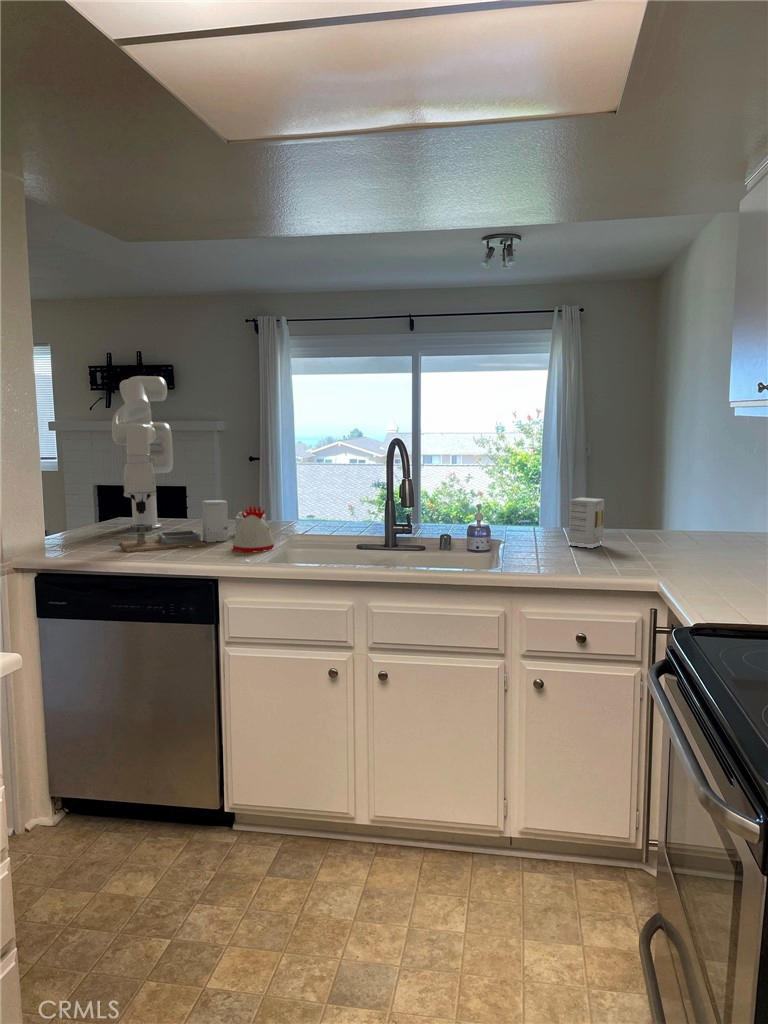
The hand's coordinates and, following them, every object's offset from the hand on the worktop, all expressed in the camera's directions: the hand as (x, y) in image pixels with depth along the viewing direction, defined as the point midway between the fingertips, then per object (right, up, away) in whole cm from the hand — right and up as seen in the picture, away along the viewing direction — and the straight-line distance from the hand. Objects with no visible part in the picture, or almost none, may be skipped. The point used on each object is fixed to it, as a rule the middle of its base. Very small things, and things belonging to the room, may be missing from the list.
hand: (141, 513), depth 248 cm
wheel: (-1, -6, +4) cm, 7 cm away
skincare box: (+22, -10, +16) cm, 29 cm away
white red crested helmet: (+39, -13, +1) cm, 41 cm away
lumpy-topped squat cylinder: (+32, -9, +30) cm, 45 cm away
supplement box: (+156, -12, +7) cm, 156 cm away
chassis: (+5, -11, +8) cm, 14 cm away
